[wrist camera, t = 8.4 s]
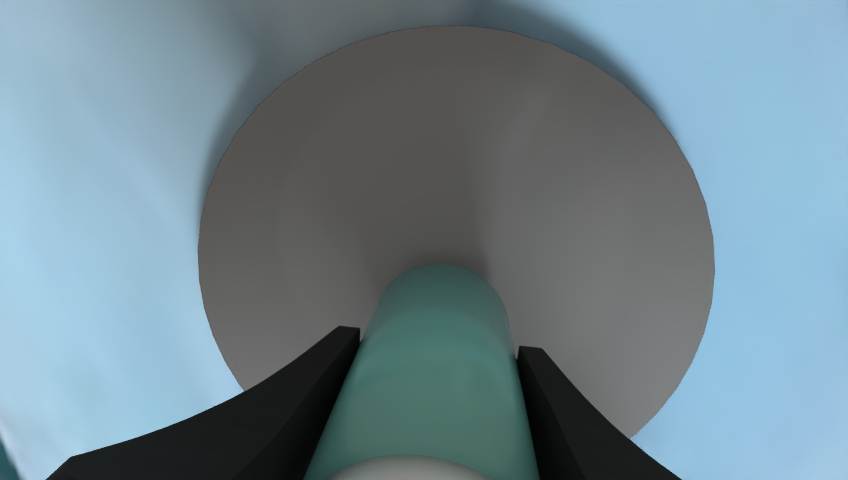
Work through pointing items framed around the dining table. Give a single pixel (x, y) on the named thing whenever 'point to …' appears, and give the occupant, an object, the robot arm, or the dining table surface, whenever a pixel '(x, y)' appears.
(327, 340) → the robot arm
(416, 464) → the pepper shaker
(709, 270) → the slate plate
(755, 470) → the dining table surface
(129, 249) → the dining table surface
